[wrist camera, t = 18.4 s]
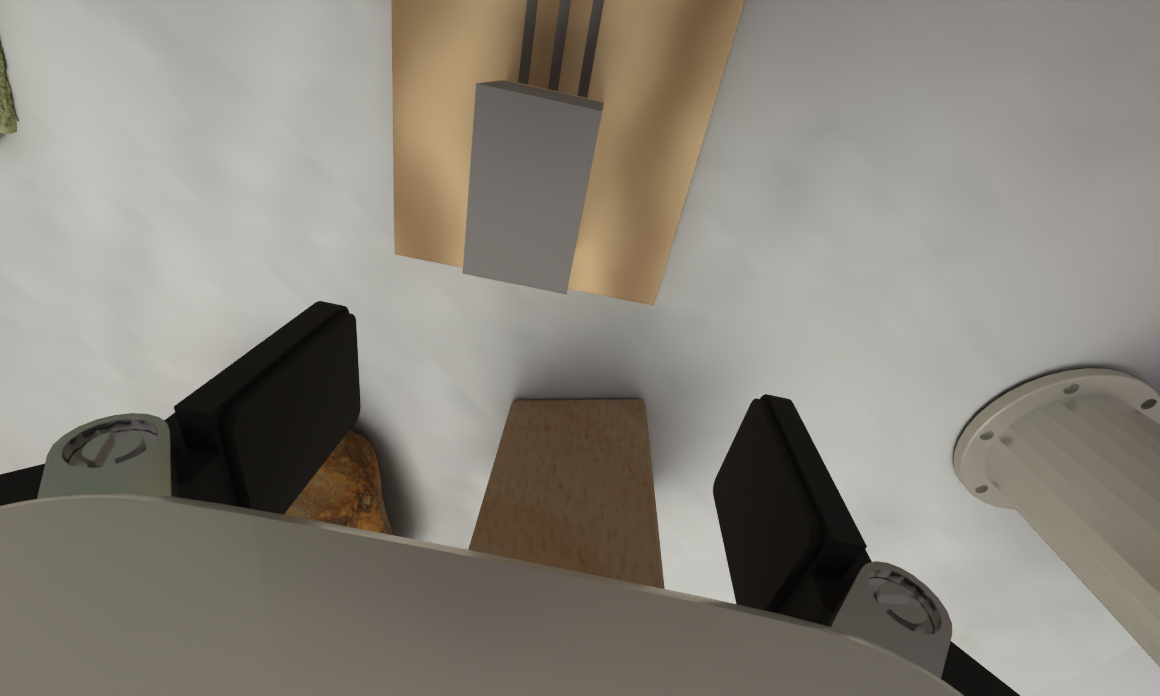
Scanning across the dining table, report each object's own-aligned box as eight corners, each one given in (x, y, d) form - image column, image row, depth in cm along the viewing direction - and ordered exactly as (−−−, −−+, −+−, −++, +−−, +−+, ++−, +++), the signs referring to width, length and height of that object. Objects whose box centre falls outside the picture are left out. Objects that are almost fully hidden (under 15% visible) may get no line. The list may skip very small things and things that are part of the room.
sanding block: (603, 101, 24) (602, 111, 19) (574, 252, 28) (566, 294, 23) (505, 79, 24) (476, 83, 18) (490, 234, 28) (462, 273, 22)
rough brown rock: (386, 587, 50) (327, 767, 38) (215, 542, 46) (82, 730, 33) (472, 439, 40) (432, 617, 27) (264, 362, 35) (97, 533, 23)
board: (792, -186, 20) (806, -205, 18) (651, 294, 31) (653, 305, 29) (404, -285, 19) (387, -312, 17) (404, 245, 30) (394, 254, 29)
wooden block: (510, 397, 36) (417, 705, 18) (645, 396, 35) (678, 715, 18) (525, 492, 41) (463, 803, 23) (643, 492, 40) (668, 814, 23)
